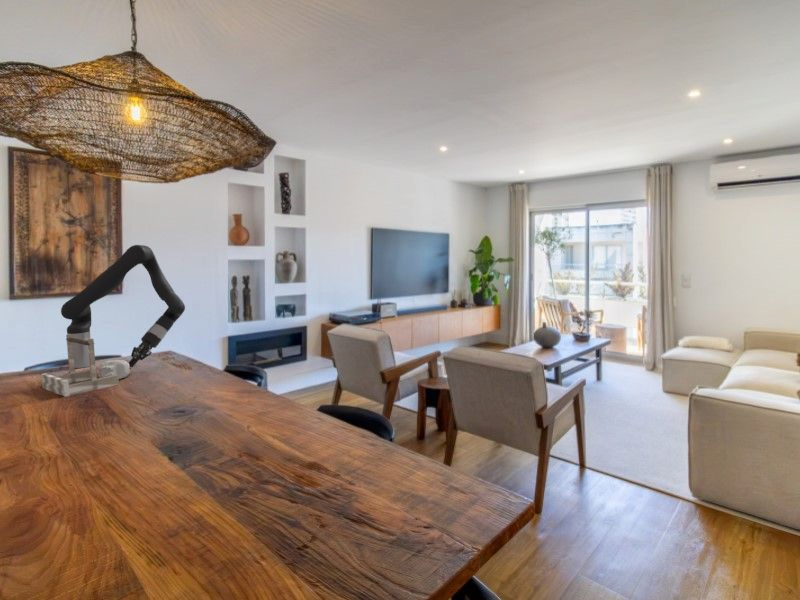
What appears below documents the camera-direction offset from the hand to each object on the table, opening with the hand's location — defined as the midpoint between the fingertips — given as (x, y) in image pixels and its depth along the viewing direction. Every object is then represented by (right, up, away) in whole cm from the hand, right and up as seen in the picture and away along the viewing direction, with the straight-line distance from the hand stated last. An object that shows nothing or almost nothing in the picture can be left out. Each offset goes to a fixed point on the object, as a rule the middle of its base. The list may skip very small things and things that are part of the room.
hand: (129, 366), depth 200 cm
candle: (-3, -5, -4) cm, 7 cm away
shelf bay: (-10, -6, -15) cm, 19 cm away
